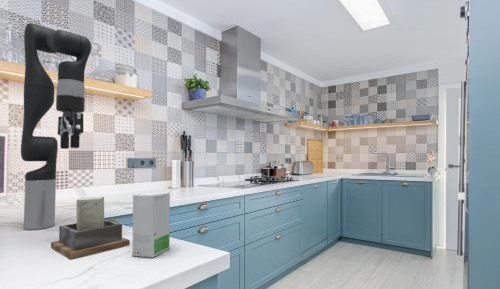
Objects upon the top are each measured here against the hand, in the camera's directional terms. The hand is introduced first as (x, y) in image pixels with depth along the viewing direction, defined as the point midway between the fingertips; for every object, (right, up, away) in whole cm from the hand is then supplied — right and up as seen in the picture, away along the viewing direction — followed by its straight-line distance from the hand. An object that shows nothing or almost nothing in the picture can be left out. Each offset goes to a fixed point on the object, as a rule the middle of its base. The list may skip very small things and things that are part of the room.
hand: (69, 148), depth 89 cm
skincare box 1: (+10, -26, -7) cm, 29 cm away
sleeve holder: (+11, -28, -8) cm, 31 cm away
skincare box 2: (+30, -28, -13) cm, 42 cm away
